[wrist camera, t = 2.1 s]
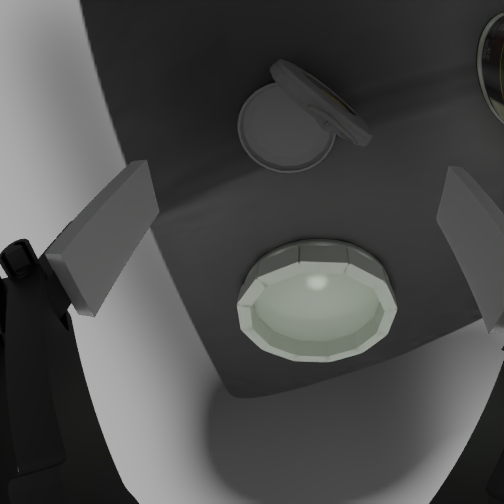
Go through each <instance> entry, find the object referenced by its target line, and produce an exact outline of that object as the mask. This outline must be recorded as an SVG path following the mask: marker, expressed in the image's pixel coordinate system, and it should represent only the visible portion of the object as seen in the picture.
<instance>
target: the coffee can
mask: <svg viewBox="0 0 504 504" xmlns="http://www.w3.org/2000/svg"><path fill="white" fill-rule="evenodd" d="M477 70H478V77H479V82H480V86H481V89H482V92H483V95H484V97H485V100H486V102H487V104H488V105H489V107H490V109H491V110H492V112H493V113H494V114H495V116H496V117H497V118H498V119H499V120H500V121H501V122H502V123H503V124H504V13H500V14H498V15H497V16H495V17H494V18H493V19H492V20H490V21H489V23H488V24H487V25H486V27H485V29H484V30H483V32H482V35H481V37H480V40H479V44H478V50H477Z"/></svg>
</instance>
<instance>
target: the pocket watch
mask: <svg viewBox="0 0 504 504" xmlns="http://www.w3.org/2000/svg"><path fill="white" fill-rule="evenodd" d="M270 72H271V74H272V78H273V79H274V80H275V83H270V84H267V85H265V86H264V87H262V88H260V89H258V90H256V91H255V92H254V93H253V94H252V95H251V96H250V97H249V98H248V99H247V100H246V101H245V102H244V104H243V106H242V109H241V111H240V113H239V118H238V134H239V138H240V142H241V144H242V146H243V148H244V150H245V151H246V152H247V154H248V155H249V156H250V157H251V158H252V159H253V160H254V161H255V162H257V163H258V164H259V165H261V166H263V167H265V168H267V169H269V170H273V171H276V172H282V173H297V172H301V171H305V170H307V169H310V168H312V167H314V166H315V165H317V164H319V163H320V162H321V161H322V160H323V159H324V158H325V157H326V156H327V155H328V153H329V151H330V150H331V148H332V147H333V144H334V141H335V136H336V135H338V136H339V137H341V138H343V139H344V140H346V141H348V142H350V143H352V144H354V145H358V146H364V147H366V146H367V145H368V144H369V142H370V141H371V138H372V137H373V132H372V131H371V129H370V128H369V126H368V125H367V124H366V123H365V121H364V120H363V119H362V118H361V117H360V116H359V115H358V114H357V113H356V112H355V111H354V110H353V109H352V108H351V107H350V106H349V105H348V104H347V103H346V102H345V101H344V100H343V99H341V98H340V97H339V96H338V95H337V94H336V93H334V92H333V91H332V90H331V89H329V88H328V87H327V86H326V85H324V84H323V83H322V82H320V81H319V80H318V79H316V78H315V77H314V76H312V75H311V74H309V73H307V72H306V71H304V70H302V69H301V68H299V67H298V66H296V65H294V64H293V63H290V62H288V61H285V60H283V59H279V60H278V61H277V62H276V63H274V64H273V65H272V66H271V67H270Z"/></svg>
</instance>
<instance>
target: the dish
mask: <svg viewBox="0 0 504 504" xmlns="http://www.w3.org/2000/svg"><path fill="white" fill-rule="evenodd" d="M237 309H238V315H239V321H240V327H241V330H242V331H243V332H244V333H245V334H246V335H247V336H248V337H249V338H250V339H251V340H252V341H253V342H254V343H255V344H256V345H258V346H259V347H260V348H261V349H263V350H264V351H267V352H270V353H272V354H275V355H278V356H281V357H284V358H286V359H289V360H292V361H293V360H294V361H306V362H328V361H329V362H331V361H335V360H339V359H343V358H346V357H350V356H354V355H357V354H361V352H362V353H363V352H364V351H366V350H367V349H369V348H370V347H371V346H373V345H374V344H375V343H377V342H378V341H379V340H381V339H382V338H383V337H385V336H386V335H387V334H388V332H389V329H390V327H391V324H392V322H393V320H394V317H395V314H396V312H397V305H396V300H395V296H394V292H393V290H392V287H391V285H390V282H389V278H388V275H387V273H386V271H385V269H384V267H383V266H382V264H381V263H380V262H379V261H378V260H377V259H376V258H375V257H374V256H373V255H372V254H370V253H369V252H367V251H366V250H364V249H362V248H360V247H358V246H356V245H353V244H350V243H347V242H344V241H339V240H334V239H306V240H299V241H295V242H291V243H287V244H285V245H282V246H279V247H277V248H275V249H273V250H271V251H269V252H268V253H267V254H265V255H264V256H262V257H261V258H260V259H259V260H258V261H257V262H256V263H255V264H254V265H253V266H252V267H251V269H250V270H249V272H248V274H247V276H246V279H245V282H244V284H243V285H242V287H241V289H240V293H239V297H238V302H237Z"/></svg>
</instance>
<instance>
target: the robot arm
mask: <svg viewBox="0 0 504 504" xmlns="http://www.w3.org/2000/svg"><path fill="white" fill-rule="evenodd" d="M158 213H159V209H158V205H157V201H156V197H155V193H154V188H153V184H152V180H151V176H150V171H149V167H148V163H147V160H140V161H132V162H131V163H130V164H129V165H128V166H127V167H126V168H125V169H123V170H122V171H121V172H120V173H119V174H118V175H117V176H116V177H115V178H114V179H113V180H112V181H111V182H110V183H109V184H108V185H107V186H106V187H105V188H104V189H103V190H102V191H101V192H100V193H99V194H98V195H97V196H96V197H95V198H94V199H93V200H92V201H91V202H90V203H89V204H88V205H87V206H86V207H85V208H84V209H83V210H82V211H81V213H80V214H79V215H78V216H77V217H76V218H75V219H74V220H73V221H71V222H70V223H69V224H68V225H67V226H66V227H65V229H64V230H63V231H62V232H61V233H60V234H59V235H58V236H57V239H55V240H54V241H53V242H52V243H51V244H50V246H49V247H48V248H47V249H46V250H45V252H44V253H43V254H42V255H41V256H40V258H39V259H37V256H36V255H35V253H34V251H33V249H32V247H31V245H30V243H29V240H27V239H20V240H17V241H15V242H13V243H11V244H10V245H8V247H6V248H5V249H4V250H3V251H2V252H1V254H0V264H1V266H2V267H3V269H4V271H5V272H6V274H7V276H8V278H4V279H1V277H0V504H139V503H138V502H137V500H136V499H135V498H134V497H133V496H132V494H131V493H130V492H129V491H128V490H127V489H126V487H125V486H124V484H123V482H122V480H121V478H120V475H119V473H118V471H117V469H116V466H115V464H114V462H113V459H112V457H111V454H110V452H109V449H108V447H107V444H106V441H105V439H104V436H103V433H102V430H101V428H100V425H99V422H98V419H97V416H96V413H95V410H94V407H93V403H92V400H91V397H90V394H89V390H88V387H87V383H86V380H85V376H84V372H83V368H82V365H81V361H80V357H79V352H78V348H77V344H76V339H75V335H74V329H73V325H72V320H71V316H70V314H69V312H68V311H67V309H68V307H69V306H70V304H71V303H72V304H73V306H74V308H75V309H76V311H77V313H78V314H79V315H85V316H91V317H95V316H96V314H97V312H98V310H99V309H100V307H101V305H102V303H103V302H104V299H105V298H106V296H107V295H108V293H109V291H110V289H111V288H112V286H113V284H114V283H115V281H116V279H117V278H118V276H119V274H120V273H121V271H122V269H123V268H124V266H125V265H126V263H127V261H128V260H129V258H130V257H131V255H132V253H133V251H134V250H135V248H136V247H137V245H138V244H139V242H140V241H141V239H142V238H143V236H144V234H145V233H146V231H147V230H148V228H149V227H150V225H151V224H152V222H153V221H154V219H155V218H156V216H157V215H158ZM436 221H437V222H438V224H439V226H440V228H441V230H442V232H443V233H444V235H445V237H446V239H447V241H448V243H449V245H450V247H451V249H452V251H453V252H454V254H455V256H456V258H457V260H458V263H459V265H460V267H461V269H462V271H463V273H464V275H465V277H466V279H467V282H468V284H469V286H470V288H471V291H472V293H473V295H474V298H475V300H476V302H477V305H478V307H479V310H480V312H481V314H482V317H483V319H484V322H485V325H486V327H487V330H488V333H489V334H492V333H502V332H504V214H503V213H502V212H501V211H500V209H499V208H498V207H497V206H496V204H495V203H494V202H493V201H492V200H491V198H490V197H489V196H488V195H487V194H486V193H485V191H484V190H483V189H482V188H481V187H480V186H479V185H478V184H477V182H476V181H475V180H474V179H473V178H472V177H471V176H470V175H469V174H468V173H467V172H466V171H465V169H464V168H462V167H455V166H448V171H447V176H446V180H445V185H444V189H443V193H442V197H441V201H440V205H439V209H438V213H437V217H436ZM502 350H503V351H504V346H503V348H502ZM429 504H504V361H503V364H502V367H501V370H500V372H499V375H498V378H497V380H496V383H495V386H494V388H493V390H492V392H491V395H490V397H489V400H488V402H487V404H486V407H485V409H484V411H483V413H482V415H481V417H480V419H479V421H478V423H477V425H476V428H475V429H474V431H473V433H472V435H471V437H470V439H469V441H468V443H467V445H466V446H465V448H464V450H463V452H462V454H461V455H460V457H459V459H458V461H457V462H456V464H455V466H454V467H453V469H452V470H451V472H450V474H449V475H448V477H447V478H446V480H445V482H444V483H443V485H442V486H441V487H440V489H439V490H438V492H437V493H436V495H435V496H434V498H433V499H432V501H431V502H430V503H429Z"/></svg>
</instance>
